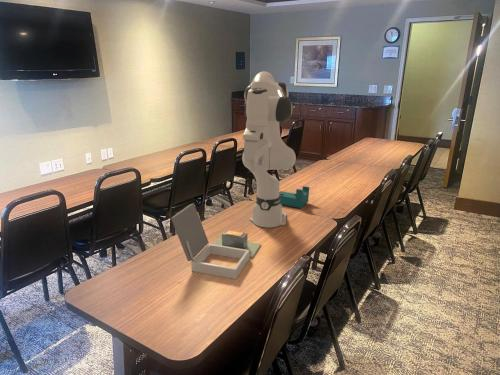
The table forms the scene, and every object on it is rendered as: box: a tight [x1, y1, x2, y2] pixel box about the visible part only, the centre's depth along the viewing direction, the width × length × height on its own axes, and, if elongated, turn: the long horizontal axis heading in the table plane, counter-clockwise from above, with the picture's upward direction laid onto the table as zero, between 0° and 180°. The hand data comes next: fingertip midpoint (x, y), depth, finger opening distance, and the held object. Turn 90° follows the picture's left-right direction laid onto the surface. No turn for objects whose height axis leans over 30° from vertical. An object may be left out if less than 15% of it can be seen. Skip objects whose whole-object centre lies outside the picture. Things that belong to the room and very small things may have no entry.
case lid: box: [170, 202, 210, 262], centre depth 140 cm, size 16×18×2 cm
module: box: [221, 229, 248, 249], centre depth 153 cm, size 4×10×6 cm, turn 69°
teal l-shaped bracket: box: [279, 185, 310, 209], centre depth 207 cm, size 18×11×10 cm, turn 59°
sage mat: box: [212, 237, 262, 259], centre depth 154 cm, size 12×20×1 cm, turn 72°
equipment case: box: [186, 241, 250, 280], centre depth 139 cm, size 16×20×12 cm
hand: (257, 167), depth 139 cm, fingers open, 8 cm apart
